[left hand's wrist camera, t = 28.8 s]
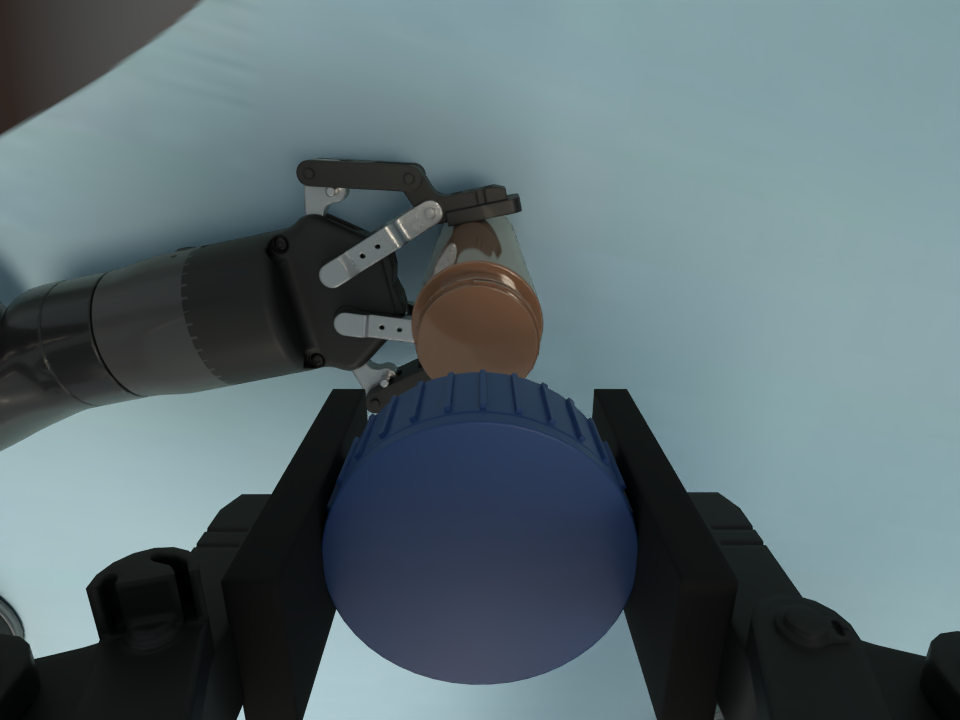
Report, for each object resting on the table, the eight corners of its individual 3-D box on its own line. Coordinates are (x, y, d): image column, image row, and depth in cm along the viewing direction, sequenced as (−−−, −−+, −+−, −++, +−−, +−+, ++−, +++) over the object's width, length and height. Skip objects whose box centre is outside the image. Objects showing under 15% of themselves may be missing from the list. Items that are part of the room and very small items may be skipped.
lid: (409, 318, 11) (393, 360, 9) (668, 437, 12) (708, 499, 10) (303, 546, 13) (270, 625, 11) (537, 637, 14) (547, 725, 12)
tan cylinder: (511, 284, 38) (540, 414, 21) (436, 278, 38) (402, 404, 21) (519, 207, 37) (557, 279, 19) (441, 201, 37) (407, 267, 19)
